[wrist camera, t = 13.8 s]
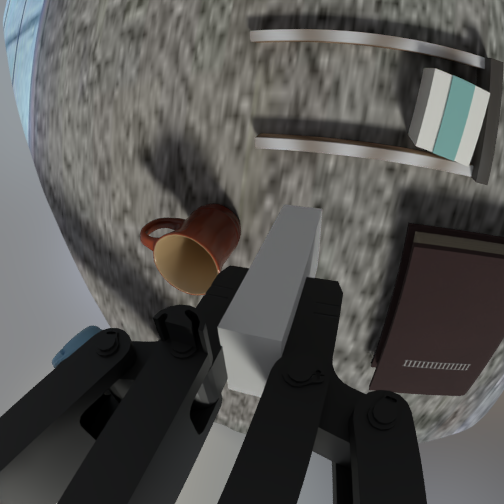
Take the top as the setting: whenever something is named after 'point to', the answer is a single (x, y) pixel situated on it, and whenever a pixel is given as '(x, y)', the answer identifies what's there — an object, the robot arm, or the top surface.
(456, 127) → the block
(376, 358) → the book
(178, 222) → the mug
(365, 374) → the top surface
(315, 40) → the rail board
